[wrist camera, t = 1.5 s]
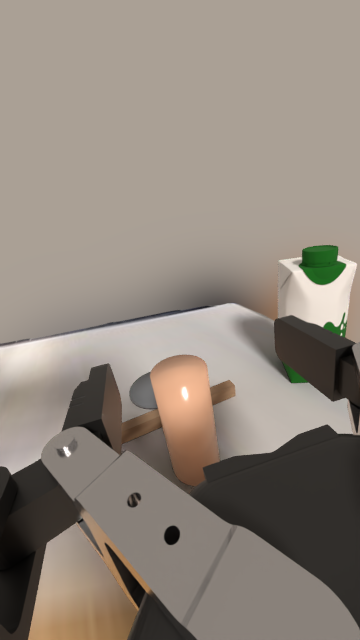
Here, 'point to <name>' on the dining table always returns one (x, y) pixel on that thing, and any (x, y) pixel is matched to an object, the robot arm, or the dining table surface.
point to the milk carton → (316, 291)
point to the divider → (153, 419)
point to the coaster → (143, 393)
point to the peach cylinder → (186, 415)
